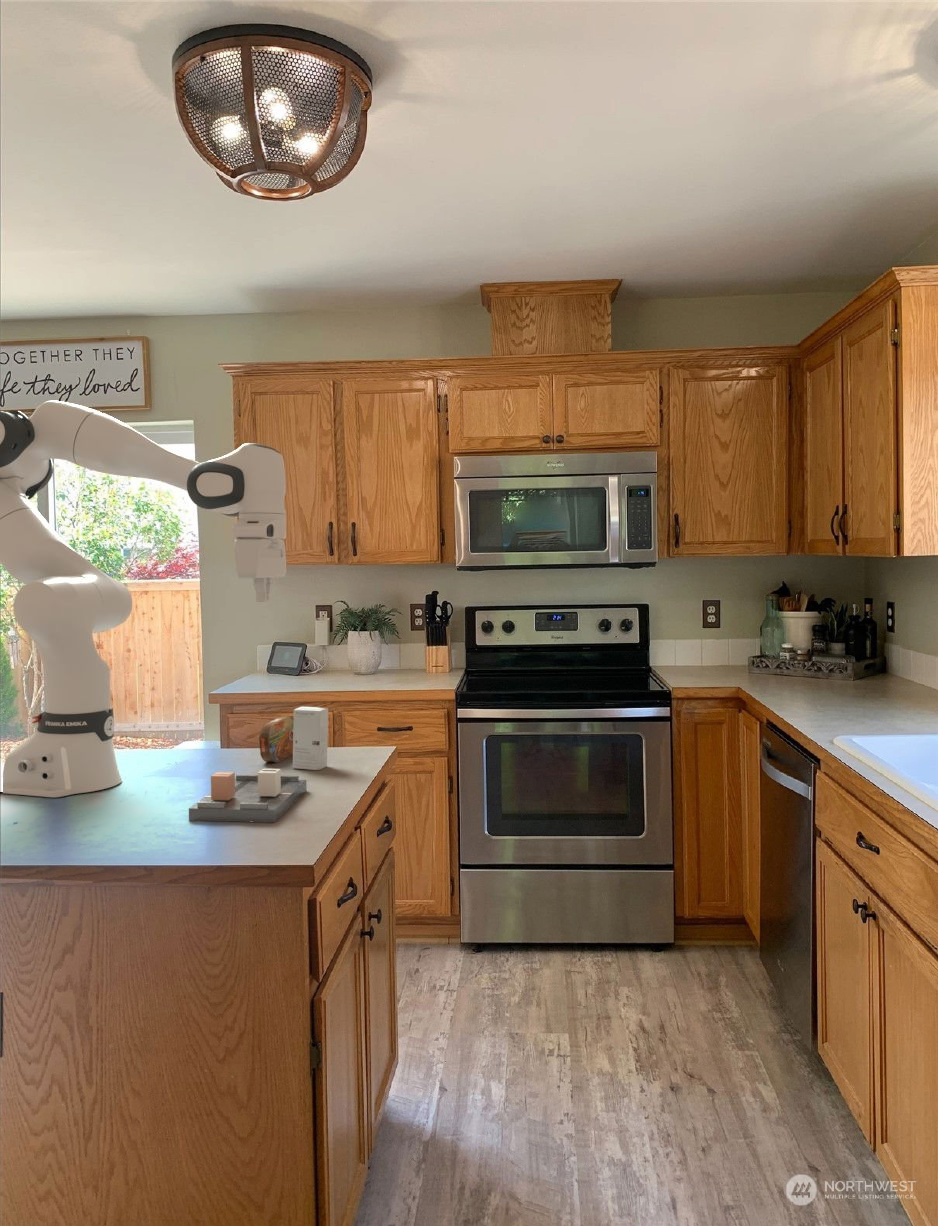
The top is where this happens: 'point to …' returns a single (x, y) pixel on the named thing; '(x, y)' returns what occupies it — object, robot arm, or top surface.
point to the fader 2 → (269, 782)
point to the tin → (277, 739)
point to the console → (249, 802)
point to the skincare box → (310, 738)
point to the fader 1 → (222, 785)
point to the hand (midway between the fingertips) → (263, 601)
